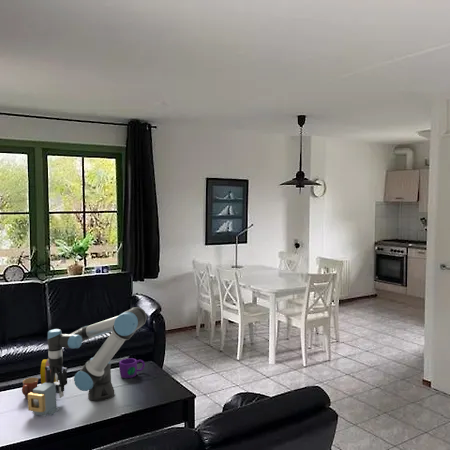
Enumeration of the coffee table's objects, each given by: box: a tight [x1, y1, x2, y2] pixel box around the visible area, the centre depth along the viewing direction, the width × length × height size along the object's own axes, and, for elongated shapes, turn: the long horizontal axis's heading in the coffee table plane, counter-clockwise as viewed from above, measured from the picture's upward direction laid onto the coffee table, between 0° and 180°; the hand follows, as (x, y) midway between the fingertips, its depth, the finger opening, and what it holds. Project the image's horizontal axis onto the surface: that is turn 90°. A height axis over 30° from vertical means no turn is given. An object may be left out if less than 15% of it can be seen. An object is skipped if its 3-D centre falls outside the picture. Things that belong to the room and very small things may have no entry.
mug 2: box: [118, 357, 146, 379], centre depth 313 cm, size 17×11×10 cm, turn 124°
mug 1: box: [21, 377, 39, 400], centre depth 280 cm, size 12×9×10 cm
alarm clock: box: [40, 357, 59, 385], centre depth 296 cm, size 15×8×18 cm, turn 9°
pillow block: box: [32, 382, 59, 417], centre depth 263 cm, size 12×10×14 cm
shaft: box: [33, 381, 60, 404], centre depth 265 cm, size 5×21×5 cm, turn 164°
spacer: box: [27, 392, 46, 412], centre depth 256 cm, size 9×2×9 cm, turn 74°
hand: (57, 396), depth 274 cm, fingers closed on shaft, 5 cm apart
